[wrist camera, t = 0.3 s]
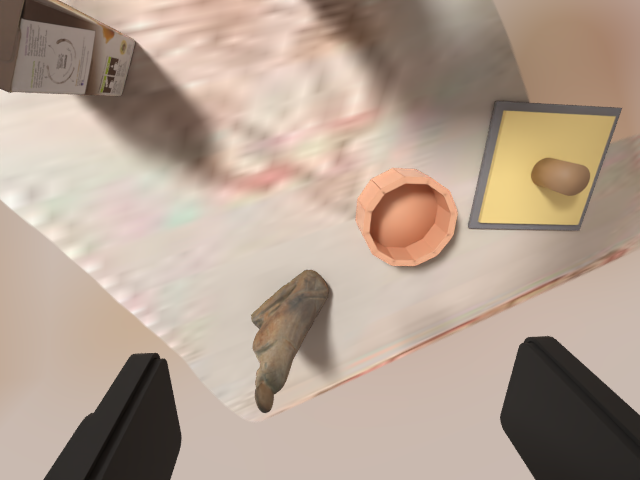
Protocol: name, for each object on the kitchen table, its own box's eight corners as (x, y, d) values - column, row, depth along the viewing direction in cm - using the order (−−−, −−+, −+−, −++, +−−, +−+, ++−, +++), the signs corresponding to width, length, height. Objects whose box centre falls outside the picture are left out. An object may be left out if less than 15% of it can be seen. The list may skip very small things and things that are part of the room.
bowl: (360, 166, 43) (368, 175, 39) (446, 170, 44) (465, 178, 40) (352, 249, 47) (359, 265, 43) (432, 250, 48) (446, 266, 44)
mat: (495, 101, 41) (497, 101, 41) (618, 107, 43) (622, 107, 42) (467, 226, 47) (469, 228, 47) (576, 229, 49) (579, 230, 48)
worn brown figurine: (273, 322, 54) (239, 437, 38) (250, 299, 52) (205, 410, 36) (335, 291, 50) (326, 405, 34) (313, 264, 48) (293, 372, 32)
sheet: (503, 110, 41) (533, 112, 36) (611, 116, 43) (655, 118, 37) (478, 221, 47) (501, 236, 41) (574, 223, 48) (609, 238, 43)
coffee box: (137, 38, 36) (31, -4, 22) (122, 97, 38) (14, 96, 24) (43, -9, 34) (-146, -92, 19) (32, 56, 36) (-148, 26, 21)
